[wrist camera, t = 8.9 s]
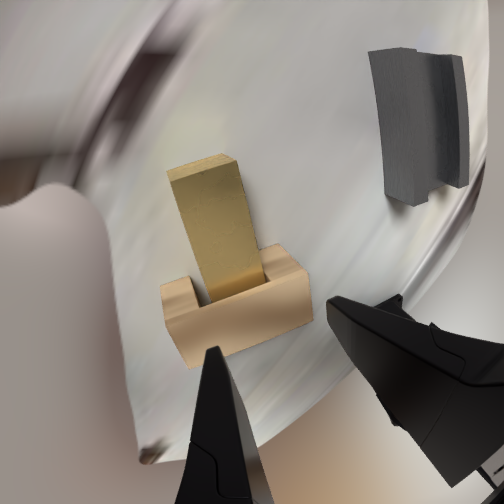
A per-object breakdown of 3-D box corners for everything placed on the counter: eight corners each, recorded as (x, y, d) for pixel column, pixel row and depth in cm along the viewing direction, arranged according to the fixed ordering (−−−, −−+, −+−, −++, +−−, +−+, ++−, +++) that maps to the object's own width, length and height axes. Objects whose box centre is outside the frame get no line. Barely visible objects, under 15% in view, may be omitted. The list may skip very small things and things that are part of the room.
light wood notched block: (286, 286, 24) (313, 320, 20) (179, 327, 22) (188, 369, 19) (278, 243, 22) (307, 273, 18) (159, 286, 21) (165, 326, 17)
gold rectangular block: (259, 301, 24) (276, 328, 21) (217, 317, 24) (229, 346, 21) (220, 152, 18) (236, 160, 15) (166, 170, 18) (170, 181, 15)
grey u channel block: (441, 175, 25) (468, 184, 22) (384, 194, 24) (413, 206, 21) (432, 56, 19) (461, 56, 16) (368, 51, 18) (399, 47, 15)
